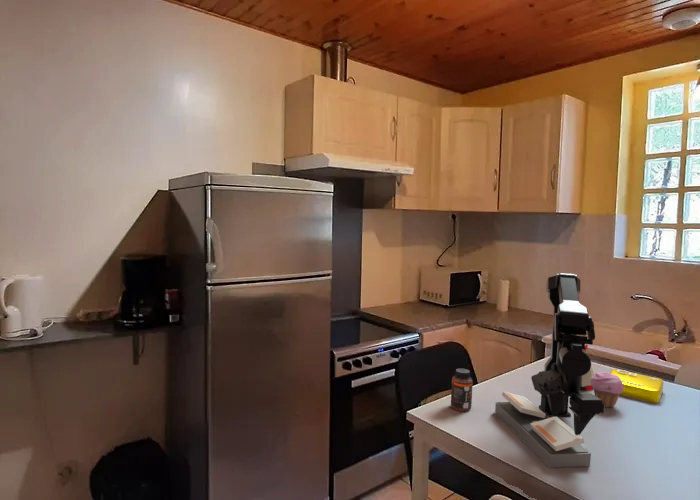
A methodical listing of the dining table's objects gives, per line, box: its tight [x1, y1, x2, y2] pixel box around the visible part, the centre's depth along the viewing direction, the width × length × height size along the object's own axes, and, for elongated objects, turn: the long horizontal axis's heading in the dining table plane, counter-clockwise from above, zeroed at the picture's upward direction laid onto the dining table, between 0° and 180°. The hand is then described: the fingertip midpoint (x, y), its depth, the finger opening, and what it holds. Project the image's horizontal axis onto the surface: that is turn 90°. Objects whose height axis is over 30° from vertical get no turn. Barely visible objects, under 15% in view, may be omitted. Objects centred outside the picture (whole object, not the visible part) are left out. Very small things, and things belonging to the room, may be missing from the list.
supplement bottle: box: [450, 368, 474, 412], centre depth 129 cm, size 6×6×11 cm
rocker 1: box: [501, 390, 547, 418], centre depth 121 cm, size 7×11×1 cm, turn 7°
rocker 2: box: [530, 416, 585, 451], centre depth 105 cm, size 7×11×1 cm, turn 6°
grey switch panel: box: [494, 401, 592, 469], centre depth 114 cm, size 10×28×3 cm, turn 6°
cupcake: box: [590, 371, 623, 408], centre depth 134 cm, size 9×9×10 cm
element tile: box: [609, 368, 664, 404], centre depth 147 cm, size 15×15×5 cm
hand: (565, 425), depth 106 cm, fingers open, 9 cm apart
